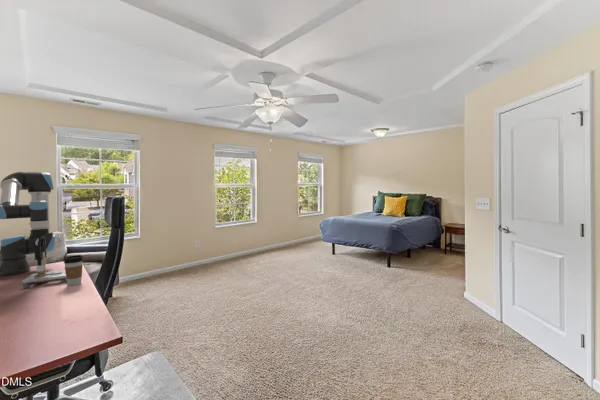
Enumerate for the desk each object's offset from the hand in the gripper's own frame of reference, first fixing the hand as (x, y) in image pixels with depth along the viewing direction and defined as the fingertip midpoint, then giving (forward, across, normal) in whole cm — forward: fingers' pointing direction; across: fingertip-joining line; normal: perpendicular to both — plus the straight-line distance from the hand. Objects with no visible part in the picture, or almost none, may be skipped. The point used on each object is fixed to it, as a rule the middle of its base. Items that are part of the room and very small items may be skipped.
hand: (41, 270), depth 164 cm
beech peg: (+6, 0, 0) cm, 6 cm away
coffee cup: (+7, +14, +17) cm, 23 cm away
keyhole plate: (+7, 0, +4) cm, 8 cm away
